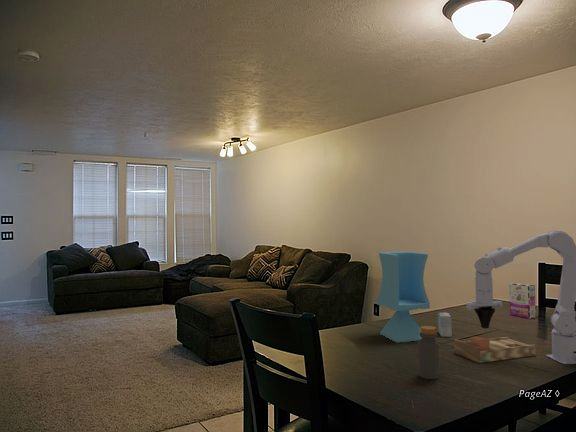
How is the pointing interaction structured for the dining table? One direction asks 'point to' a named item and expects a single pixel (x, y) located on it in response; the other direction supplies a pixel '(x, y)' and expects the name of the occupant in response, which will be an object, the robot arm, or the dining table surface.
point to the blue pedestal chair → (402, 293)
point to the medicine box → (444, 324)
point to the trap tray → (494, 350)
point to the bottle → (428, 353)
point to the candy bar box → (522, 300)
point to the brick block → (481, 342)
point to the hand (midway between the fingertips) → (485, 327)
